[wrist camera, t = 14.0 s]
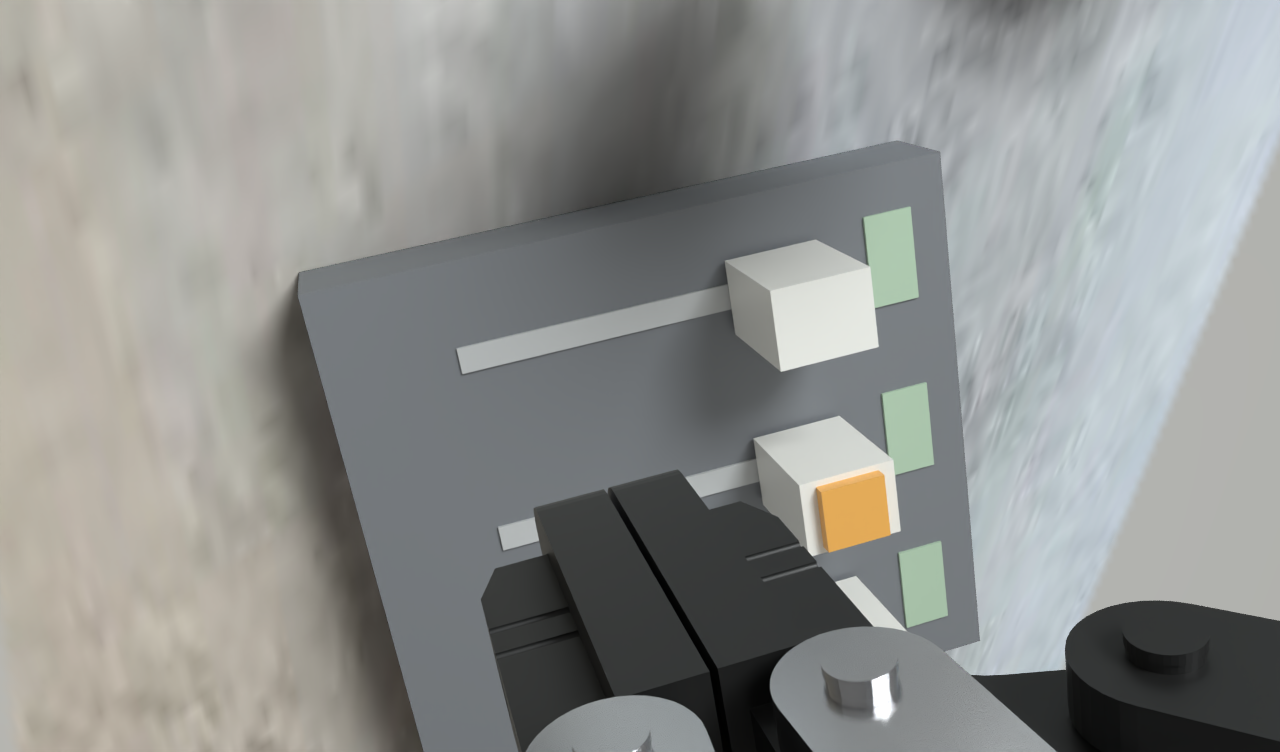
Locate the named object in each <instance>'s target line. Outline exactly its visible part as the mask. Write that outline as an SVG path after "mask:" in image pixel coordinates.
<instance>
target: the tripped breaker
mask: <svg viewBox="0 0 1280 752" xmlns="http://www.w3.org/2000/svg"><path fill="white" fill-rule="evenodd" d="M753 439H754V446H755V453H756V460H757V467H758V474H759V480H760V487H761V494H762V501H763V505H764V506H765V507H766V508H767V510H768V511H769V512H770V513H771V514H772V515H775V516H777V517H779V519H780V520H781V521H782V522H783V523H784V524H785V525H786V527H787V528H788V529H789V530H790V531H791V532H792V533H793V535H794V536H795V537H796V538H797V539H798V540H799V543H800V546H801V547H802V546H804V547H805V548H806V550H807V551H808V552H809V553H810V554H811V555H812V556H815V555H818V554H822V553H826V552H829V553H830V552H833V551H837V550H840V549H844V548H847V547H851V546H854V545H858V544H861V543H865V542H868V541H872V540H875V539H879V538H882V537H886V536H889V535H891V534H892V533H896V532H899V531H901V528H900V519H899V509H898V500H897V490H896V480H895V471H894V461H893V459H892V458H891V457H889V456H888V455H887V454H886V453H884V452H883V451H882V450H881V449H880V448H878V447H877V446H876V445H875V444H873V443H872V442H871V441H870V440H869V439H867V438H866V437H865V436H864V435H862V434H861V433H860V432H859V431H857V430H856V429H855V428H854V427H853V426H851V425H850V424H849V423H848V422H846V421H845V420H844V419H843V418H841V417H840V416H837V417H833V418H829V419H825V420H821V421H817V422H814V423H810V424H806V425H802V426H798V427H795V428H791V429H787V430H783V431H779V432H776V433H772V434H768V435H764V436H760V437H757V438H753Z"/></svg>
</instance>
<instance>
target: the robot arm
mask: <svg viewBox="0 0 1280 752" xmlns="http://www.w3.org/2000/svg"><path fill="white" fill-rule="evenodd" d="M534 517H535V523H536V528H537V533H538V538H539V542H540V547H541V551H542V556H539V557H535V558H531V559H528V560H524V561H520V562H517V563H513V564H509V565H506V566H502V567H498V568H495V569H494V572H493V574H492V576H491V578H490V580H489V582H488V585H487V587H486V589H485V591H484V593H483V596H482V598H481V603H482V607H483V611H484V615H485V619H486V624H487V628H488V632H489V636H490V640H491V644H492V648H493V652H494V656H495V660H496V664H497V668H498V672H499V677H500V681H501V685H502V689H503V693H504V697H505V701H506V705H507V709H508V713H509V717H510V721H511V725H512V730H513V733H514V737H515V741H516V745H517V748H518V752H1280V621H1277V620H1272V619H1266V618H1262V617H1256V616H1251V615H1246V614H1240V613H1235V612H1230V611H1225V610H1220V609H1215V608H1209V607H1204V606H1199V605H1194V604H1188V603H1181V602H1173V601H1138V602H1129V603H1123V604H1119V605H1114V606H1110V607H1107V608H1104V609H1102V610H1099V611H1096V612H1094V613H1093V614H1091V615H1089V616H1087V617H1085V618H1084V619H1083V620H1081V621H1080V622H1079V623H1077V624H1076V626H1075V627H1074V628H1073V629H1072V630H1071V631H1070V633H1069V635H1068V637H1067V640H1066V646H1065V658H1066V670H1057V671H1045V672H1033V673H1021V674H1009V675H990V676H981V675H970V674H969V673H968V672H966V671H965V670H964V669H963V668H962V667H961V666H960V665H959V664H957V663H956V662H955V661H954V660H953V659H952V658H951V657H950V656H948V655H947V654H946V653H945V652H944V651H943V650H942V649H941V648H939V647H938V646H936V645H935V644H934V643H932V642H931V641H929V640H927V639H925V638H923V637H921V636H919V635H916V634H913V633H910V632H907V631H903V630H898V629H894V628H886V627H874V626H873V625H872V624H871V623H870V622H869V621H868V620H867V618H866V617H865V616H864V615H863V614H862V613H861V612H860V610H859V609H858V608H857V607H856V606H855V605H854V604H853V602H852V601H851V600H850V599H849V598H848V597H847V595H846V594H845V593H844V592H843V591H842V590H841V589H840V587H839V586H838V585H837V584H836V583H835V582H834V581H833V579H832V578H831V577H830V576H829V575H828V574H827V573H826V571H825V570H824V569H823V568H822V567H818V565H817V561H816V560H815V559H814V558H813V556H812V555H811V554H810V553H809V552H808V551H807V550H806V548H805V547H804V546H802V547H801V546H800V543H799V540H798V539H797V538H796V537H795V536H794V535H793V533H792V532H791V531H790V530H789V529H788V528H787V527H786V525H785V524H784V523H783V522H782V521H781V520H780V519H779V517H777V516H775V515H772V514H770V513H768V512H765V511H763V510H760V509H758V508H756V507H753V506H751V505H748V504H746V503H743V502H741V501H739V502H735V503H732V504H728V505H724V506H721V507H717V508H713V509H710V510H709V509H708V507H707V506H706V505H705V503H704V502H703V501H702V499H701V498H700V497H699V495H698V494H697V493H696V491H695V490H694V489H693V487H692V486H691V485H690V483H689V482H688V481H687V479H686V478H685V477H684V475H683V474H682V473H681V472H680V471H679V470H678V469H677V470H673V471H669V472H665V473H662V474H658V475H654V476H650V477H647V478H643V479H639V480H635V481H632V482H628V483H624V484H620V485H616V486H613V487H609V488H608V494H607V493H606V491H605V490H604V489H602V490H598V491H595V492H591V493H587V494H583V495H580V496H576V497H572V498H568V499H565V500H561V501H557V502H553V503H550V504H546V505H542V506H538V507H534Z"/></svg>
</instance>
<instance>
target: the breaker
mask: <svg viewBox="0 0 1280 752" xmlns="http://www.w3.org/2000/svg"><path fill="white" fill-rule="evenodd" d="M725 267H726V274H727V281H728V288H729V294H730V301H731V308H732V315H733V322H734V328H735V334H736V335H737V336H738V337H739V338H740V339H742V340H743V341H744V342H745V343H746V344H748V345H749V346H750V347H751V348H753V349H754V350H755V351H756V352H757V353H759V354H760V355H761V356H762V357H764V358H765V359H766V360H767V361H768V362H770V363H771V364H772V365H773V366H774V367H776V368H777V369H778V370H779V371H781V372H782V371H786V370H790V369H794V368H798V367H802V366H806V365H810V364H814V363H818V362H822V361H826V360H830V359H834V358H838V357H842V356H845V355H849V354H853V353H857V352H861V351H865V350H869V349H873V348H877V347H879V344H878V335H877V325H876V315H875V306H874V296H873V287H872V277H871V268H870V266H868V265H866V264H864V263H862V262H860V261H858V260H856V259H854V258H852V257H850V256H848V255H846V254H844V253H842V252H840V251H838V250H836V249H834V248H832V247H830V246H828V245H826V244H824V243H822V242H820V241H818V240H811V241H807V242H803V243H798V244H794V245H790V246H786V247H781V248H777V249H773V250H768V251H764V252H760V253H756V254H751V255H747V256H743V257H738V258H734V259H730V260H726V261H725Z"/></svg>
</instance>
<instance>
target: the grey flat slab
mask: <svg viewBox="0 0 1280 752" xmlns="http://www.w3.org/2000/svg"><path fill="white" fill-rule="evenodd" d="M811 240H818V241H820V242H822V243H824V244H826V245H828V246H830V247H832V248H834V249H836V250H838V251H840V252H842V253H844V254H846V255H848V256H850V257H852V258H854V259H856V260H858V261H860V262H862V263H864V264H866V265H868V266H870V268H871V277H872V287H873V296H874V306H875V315H876V325H877V335H878V344H879V347H877V348H873V349H869V350H865V351H861V352H857V353H853V354H849V355H845V356H842V357H838V358H834V359H830V360H826V361H822V362H818V363H814V364H810V365H806V366H802V367H798V368H794V369H790V370H786V371H782V372H781V371H779V370H778V369H777V368H776V367H774V366H773V365H772V364H771V363H770V362H768V361H767V360H766V359H765V358H764V357H762V356H761V355H760V354H759V353H757V352H756V351H755V350H754V349H753V348H751V347H750V346H749V345H748V344H746V343H745V342H744V341H743V340H742V339H740V338H739V337H738V336H737V335H736V334H735V328H734V322H733V315H732V308H731V301H730V294H729V288H728V281H727V274H726V267H725V261H726V260H730V259H734V258H738V257H743V256H747V255H751V254H756V253H760V252H764V251H768V250H773V249H777V248H781V247H786V246H790V245H794V244H798V243H803V242H807V241H811ZM298 299H299V302H300V306H301V309H302V313H303V317H304V320H305V324H306V328H307V331H308V335H309V338H310V342H311V346H312V349H313V353H314V356H315V360H316V364H317V367H318V371H319V375H320V378H321V382H322V385H323V389H324V393H325V396H326V400H327V404H328V407H329V411H330V414H331V418H332V422H333V425H334V429H335V433H336V436H337V440H338V443H339V447H340V451H341V454H342V458H343V461H344V465H345V469H346V472H347V476H348V480H349V483H350V487H351V490H352V494H353V498H354V501H355V505H356V509H357V512H358V516H359V519H360V523H361V527H362V530H363V534H364V537H365V541H366V545H367V548H368V552H369V556H370V559H371V563H372V566H373V570H374V574H375V577H376V581H377V585H378V588H379V592H380V595H381V599H382V603H383V606H384V610H385V614H386V617H387V621H388V624H389V628H390V632H391V635H392V639H393V642H394V646H395V650H396V653H397V657H398V661H399V664H400V668H401V671H402V675H403V679H404V682H405V686H406V690H407V693H408V697H409V700H410V704H411V708H412V711H413V715H414V719H415V722H416V726H417V729H418V733H419V737H420V740H421V744H422V747H423V751H424V752H518V748H517V745H516V741H515V737H514V733H513V730H512V725H511V721H510V717H509V713H508V709H507V705H506V701H505V697H504V693H503V689H502V685H501V681H500V677H499V672H498V668H497V664H496V660H495V656H494V652H493V648H492V644H491V640H490V636H489V632H488V628H487V624H486V619H485V615H484V611H483V607H482V603H481V598H482V596H483V593H484V591H485V589H486V587H487V585H488V582H489V580H490V578H491V576H492V574H493V572H494V569H495V568H498V567H502V566H506V565H509V564H513V563H517V562H520V561H524V560H528V559H531V558H535V557H539V556H542V551H541V547H540V542H539V538H538V533H537V528H536V523H535V517H534V507H538V506H542V505H546V504H550V503H553V502H557V501H561V500H565V499H568V498H572V497H576V496H580V495H583V494H587V493H591V492H595V491H598V490H602V489H604V490H605V491H606V493H607V494H608V488H609V487H613V486H616V485H620V484H624V483H628V482H632V481H635V480H639V479H643V478H647V477H650V476H654V475H658V474H662V473H665V472H669V471H673V470H677V469H678V470H679V471H680V472H681V473H682V474H683V475H684V477H685V478H686V479H687V481H688V482H689V483H690V485H691V486H692V487H693V489H694V490H695V491H696V493H697V494H698V495H699V497H700V498H701V499H702V501H703V502H704V503H705V505H706V506H707V507H708V509H709V510H710V509H713V508H717V507H721V506H724V505H728V504H732V503H735V502H739V501H741V502H743V503H746V504H748V505H751V506H753V507H756V508H758V509H760V510H763V511H765V512H768V513H770V512H769V511H768V510H767V508H766V507H765V506H764V505H763V501H762V494H761V487H760V480H759V474H758V467H757V460H756V453H755V446H754V439H753V438H757V437H760V436H764V435H768V434H772V433H776V432H779V431H783V430H787V429H791V428H795V427H798V426H802V425H806V424H810V423H814V422H817V421H821V420H825V419H829V418H833V417H837V416H840V417H841V418H843V419H844V420H845V421H846V422H848V423H849V424H850V425H851V426H853V427H854V428H855V429H856V430H857V431H859V432H860V433H861V434H862V435H864V436H865V437H866V438H867V439H869V440H870V441H871V442H872V443H873V444H875V445H876V446H877V447H878V448H880V449H881V450H882V451H883V452H884V453H886V454H887V455H888V456H889V457H891V458H892V459H893V461H894V471H895V480H896V490H897V500H898V509H899V519H900V528H901V531H899V532H896V533H892V534H891V535H889V536H886V537H882V538H879V539H875V540H872V541H868V542H865V543H861V544H858V545H854V546H851V547H847V548H844V549H840V550H837V551H833V552H830V553H829V552H826V553H822V554H818V555H815V556H813V558H814V559H815V560H816V561H817V565H818V567H822V568H823V569H824V570H825V571H826V573H827V574H828V575H829V576H830V577H831V578H832V579H833V581H834V582H837V581H840V580H844V579H847V578H850V577H854V576H857V577H858V579H859V580H860V581H861V582H862V583H863V584H864V585H865V586H866V587H867V588H868V589H869V590H870V592H871V593H872V594H873V595H874V596H875V597H876V598H877V599H878V600H879V601H880V602H881V604H882V605H883V606H884V607H885V608H886V609H887V610H888V611H889V612H890V613H891V614H892V615H893V617H894V618H895V619H896V620H897V621H898V622H899V623H900V624H901V625H902V626H903V627H904V628H905V630H906V631H907V632H910V633H913V634H916V635H919V636H921V637H923V638H925V639H927V640H929V641H931V642H932V643H934V644H935V645H936V646H938V647H939V648H941V649H942V650H943V651H944V652H945V651H948V650H951V649H954V648H958V647H961V646H964V645H967V644H971V643H974V642H977V641H980V637H979V624H978V612H977V600H976V588H975V575H974V563H973V551H972V539H971V526H970V514H969V502H968V489H967V477H966V465H965V453H964V440H963V428H962V416H961V404H960V391H959V379H958V367H957V354H956V342H955V330H954V318H953V305H952V293H951V281H950V269H949V256H948V244H947V232H946V219H945V207H944V195H943V183H942V170H941V158H940V152H939V151H935V150H931V149H928V148H924V147H920V146H916V145H912V144H908V143H905V142H901V141H893V142H889V143H884V144H880V145H875V146H871V147H866V148H862V149H857V150H852V151H848V152H843V153H839V154H834V155H830V156H825V157H821V158H816V159H812V160H807V161H803V162H798V163H793V164H789V165H784V166H780V167H775V168H771V169H766V170H762V171H757V172H753V173H748V174H744V175H739V176H734V177H730V178H725V179H721V180H716V181H712V182H707V183H703V184H698V185H694V186H689V187H685V188H680V189H676V190H671V191H666V192H662V193H657V194H653V195H648V196H644V197H639V198H635V199H630V200H626V201H621V202H617V203H612V204H607V205H603V206H598V207H594V208H589V209H585V210H580V211H576V212H571V213H567V214H562V215H558V216H553V217H548V218H544V219H539V220H535V221H530V222H526V223H521V224H517V225H512V226H508V227H503V228H499V229H494V230H489V231H485V232H480V233H476V234H471V235H467V236H462V237H458V238H453V239H449V240H444V241H440V242H435V243H430V244H426V245H421V246H417V247H412V248H408V249H403V250H399V251H394V252H390V253H385V254H381V255H376V256H371V257H367V258H362V259H358V260H353V261H349V262H344V263H340V264H335V265H331V266H326V267H322V268H317V269H312V270H308V271H303V272H299V280H298ZM770 514H771V513H770Z"/></svg>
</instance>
